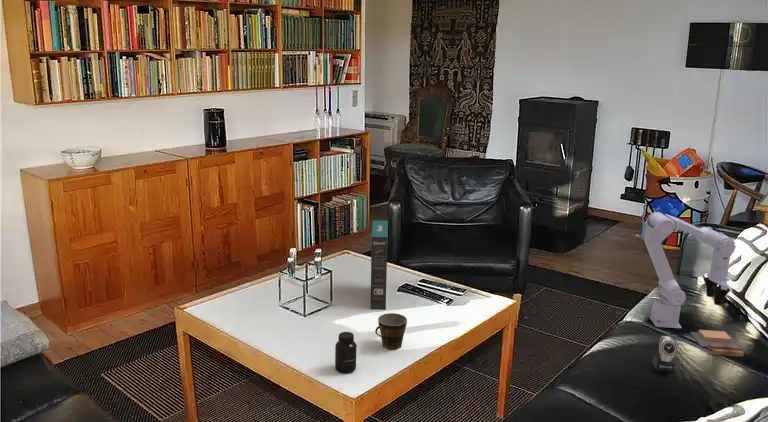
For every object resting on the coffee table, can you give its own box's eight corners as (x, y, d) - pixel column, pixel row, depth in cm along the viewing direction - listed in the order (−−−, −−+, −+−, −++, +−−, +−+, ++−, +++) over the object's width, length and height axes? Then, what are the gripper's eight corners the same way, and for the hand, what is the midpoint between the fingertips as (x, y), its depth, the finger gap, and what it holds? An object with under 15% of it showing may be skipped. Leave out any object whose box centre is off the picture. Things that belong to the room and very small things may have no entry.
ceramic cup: (391, 336, 225) (392, 310, 222) (412, 346, 218) (413, 319, 216) (365, 347, 216) (365, 321, 214) (385, 358, 209) (386, 331, 207)
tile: (705, 337, 225) (699, 329, 231) (704, 340, 226) (698, 333, 232) (731, 338, 224) (724, 331, 230) (730, 342, 225) (724, 335, 231)
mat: (700, 346, 222) (701, 345, 222) (690, 333, 233) (690, 332, 233) (742, 350, 221) (742, 348, 220) (730, 335, 231) (730, 334, 231)
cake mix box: (385, 309, 247) (387, 237, 239) (370, 309, 247) (371, 236, 239) (386, 288, 268) (387, 220, 260) (372, 288, 268) (373, 220, 260)
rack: (712, 354, 217) (713, 350, 216) (707, 348, 221) (708, 344, 221) (743, 356, 216) (743, 352, 215) (737, 350, 220) (738, 346, 220)
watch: (657, 373, 203) (662, 342, 201) (651, 361, 211) (655, 331, 208) (675, 375, 203) (680, 344, 200) (668, 363, 210) (673, 333, 207)
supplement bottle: (348, 376, 198) (348, 341, 195) (330, 370, 201) (330, 336, 198) (360, 367, 203) (360, 333, 200) (343, 361, 207) (343, 328, 204)
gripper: (739, 274, 226) (732, 309, 230) (723, 260, 240) (717, 293, 244) (718, 273, 227) (712, 307, 231) (703, 259, 241) (698, 292, 245)
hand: (713, 300), depth 237 cm, fingers open, 7 cm apart
